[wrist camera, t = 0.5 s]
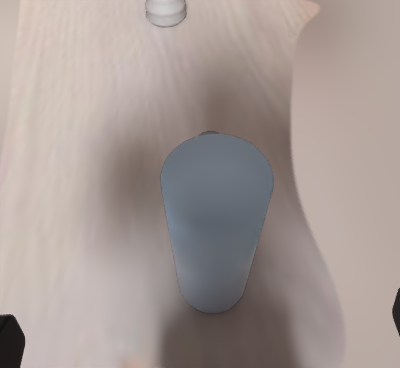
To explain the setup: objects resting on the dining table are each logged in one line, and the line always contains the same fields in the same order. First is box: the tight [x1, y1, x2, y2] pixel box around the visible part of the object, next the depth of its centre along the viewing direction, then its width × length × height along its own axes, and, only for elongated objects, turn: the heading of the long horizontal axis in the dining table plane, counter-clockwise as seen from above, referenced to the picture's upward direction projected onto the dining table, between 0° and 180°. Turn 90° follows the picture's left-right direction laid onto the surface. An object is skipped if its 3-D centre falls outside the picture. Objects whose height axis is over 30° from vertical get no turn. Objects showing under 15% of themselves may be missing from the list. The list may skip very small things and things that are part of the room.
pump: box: [160, 131, 274, 313], centre depth 20 cm, size 6×4×12 cm
